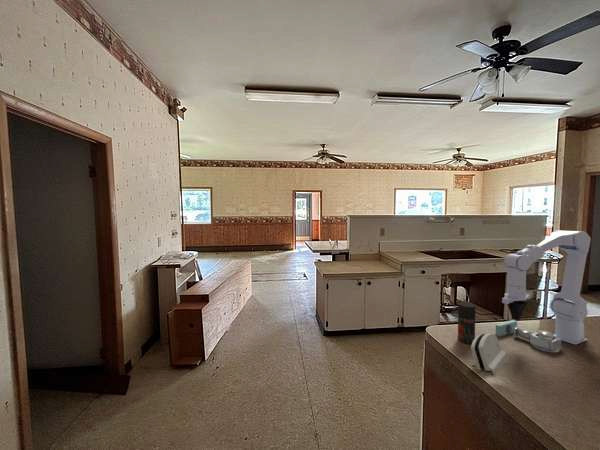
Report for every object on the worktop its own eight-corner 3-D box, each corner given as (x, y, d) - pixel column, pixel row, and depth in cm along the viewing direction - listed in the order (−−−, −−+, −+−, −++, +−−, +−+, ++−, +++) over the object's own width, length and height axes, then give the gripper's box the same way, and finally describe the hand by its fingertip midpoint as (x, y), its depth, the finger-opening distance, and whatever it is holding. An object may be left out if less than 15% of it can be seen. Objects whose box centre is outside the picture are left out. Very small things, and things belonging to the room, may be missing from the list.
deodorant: (476, 345, 106) (477, 307, 105) (459, 343, 108) (459, 306, 107) (472, 338, 111) (473, 302, 111) (456, 336, 113) (456, 301, 113)
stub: (538, 340, 109) (538, 327, 109) (564, 349, 101) (564, 335, 101) (526, 344, 106) (527, 331, 105) (552, 354, 98) (552, 339, 98)
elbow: (561, 348, 102) (562, 338, 102) (552, 352, 99) (552, 342, 99) (520, 333, 114) (520, 325, 114) (510, 337, 111) (510, 328, 111)
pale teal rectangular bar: (512, 329, 119) (512, 319, 119) (517, 331, 117) (517, 321, 117) (495, 335, 114) (495, 324, 114) (500, 336, 113) (500, 326, 113)
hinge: (495, 376, 86) (482, 343, 88) (478, 374, 89) (467, 343, 92) (508, 357, 97) (497, 328, 99) (493, 357, 100) (483, 329, 103)
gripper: (516, 280, 112) (516, 312, 113) (493, 284, 107) (493, 318, 107) (536, 284, 106) (536, 318, 106) (513, 289, 100) (513, 325, 101)
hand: (516, 319), depth 106 cm, fingers closed
